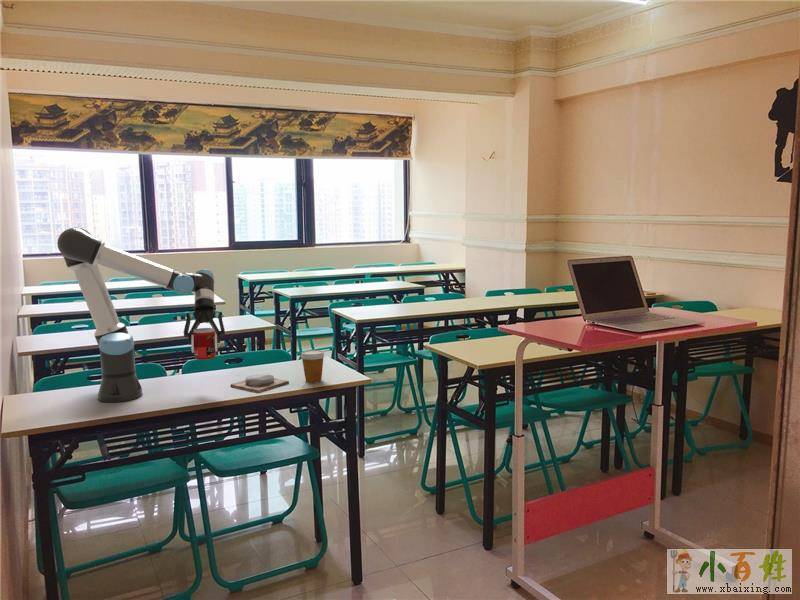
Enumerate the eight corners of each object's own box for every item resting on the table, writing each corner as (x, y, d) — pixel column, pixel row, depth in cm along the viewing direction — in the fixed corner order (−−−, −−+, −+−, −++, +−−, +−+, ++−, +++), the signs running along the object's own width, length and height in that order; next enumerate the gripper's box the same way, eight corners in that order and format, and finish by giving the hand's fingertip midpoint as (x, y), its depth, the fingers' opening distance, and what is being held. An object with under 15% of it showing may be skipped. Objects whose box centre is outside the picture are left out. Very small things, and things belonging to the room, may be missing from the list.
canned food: (210, 360, 237) (209, 331, 236) (190, 359, 238) (189, 331, 237) (219, 355, 245) (218, 328, 243) (200, 355, 246) (198, 327, 244)
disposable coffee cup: (323, 384, 249) (322, 354, 247) (299, 384, 249) (298, 354, 248) (326, 378, 258) (326, 349, 257) (303, 378, 259) (302, 349, 257)
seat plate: (230, 386, 247) (230, 379, 247) (261, 378, 260) (261, 370, 260) (258, 392, 238) (257, 385, 238) (288, 383, 251) (288, 376, 250)
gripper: (231, 307, 257) (233, 353, 243) (178, 309, 251) (176, 357, 238) (230, 295, 251) (232, 343, 237) (176, 298, 246) (174, 346, 232)
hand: (204, 350), depth 238 cm, fingers closed on canned food, 8 cm apart
